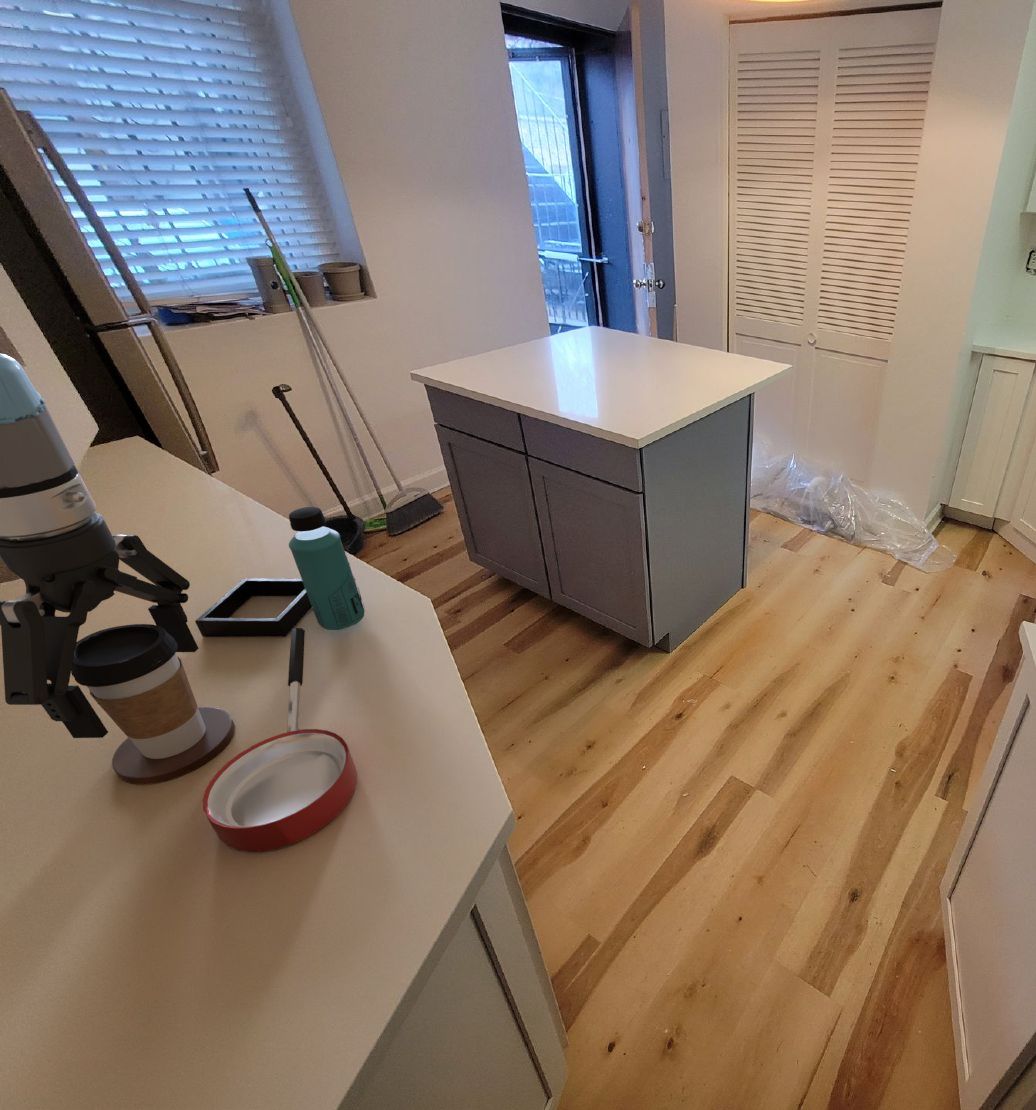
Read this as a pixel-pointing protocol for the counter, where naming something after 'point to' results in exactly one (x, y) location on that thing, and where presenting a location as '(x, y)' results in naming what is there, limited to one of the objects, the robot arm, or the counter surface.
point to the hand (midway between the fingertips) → (142, 689)
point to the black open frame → (221, 625)
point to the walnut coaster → (151, 771)
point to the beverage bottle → (324, 570)
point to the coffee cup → (141, 687)
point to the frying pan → (282, 780)
